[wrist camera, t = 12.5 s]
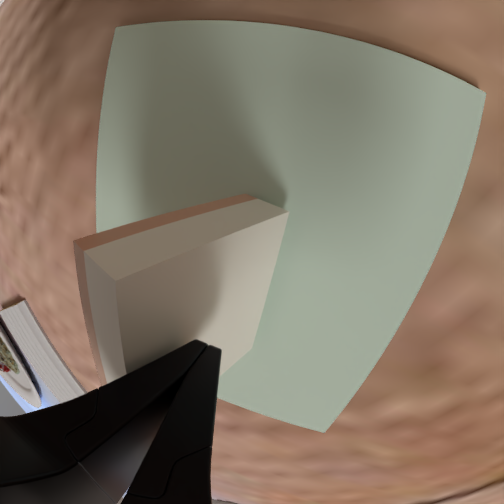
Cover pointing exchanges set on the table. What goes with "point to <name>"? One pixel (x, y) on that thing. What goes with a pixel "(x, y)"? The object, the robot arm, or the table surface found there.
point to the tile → (178, 282)
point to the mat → (294, 182)
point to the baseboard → (41, 352)
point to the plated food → (16, 371)
